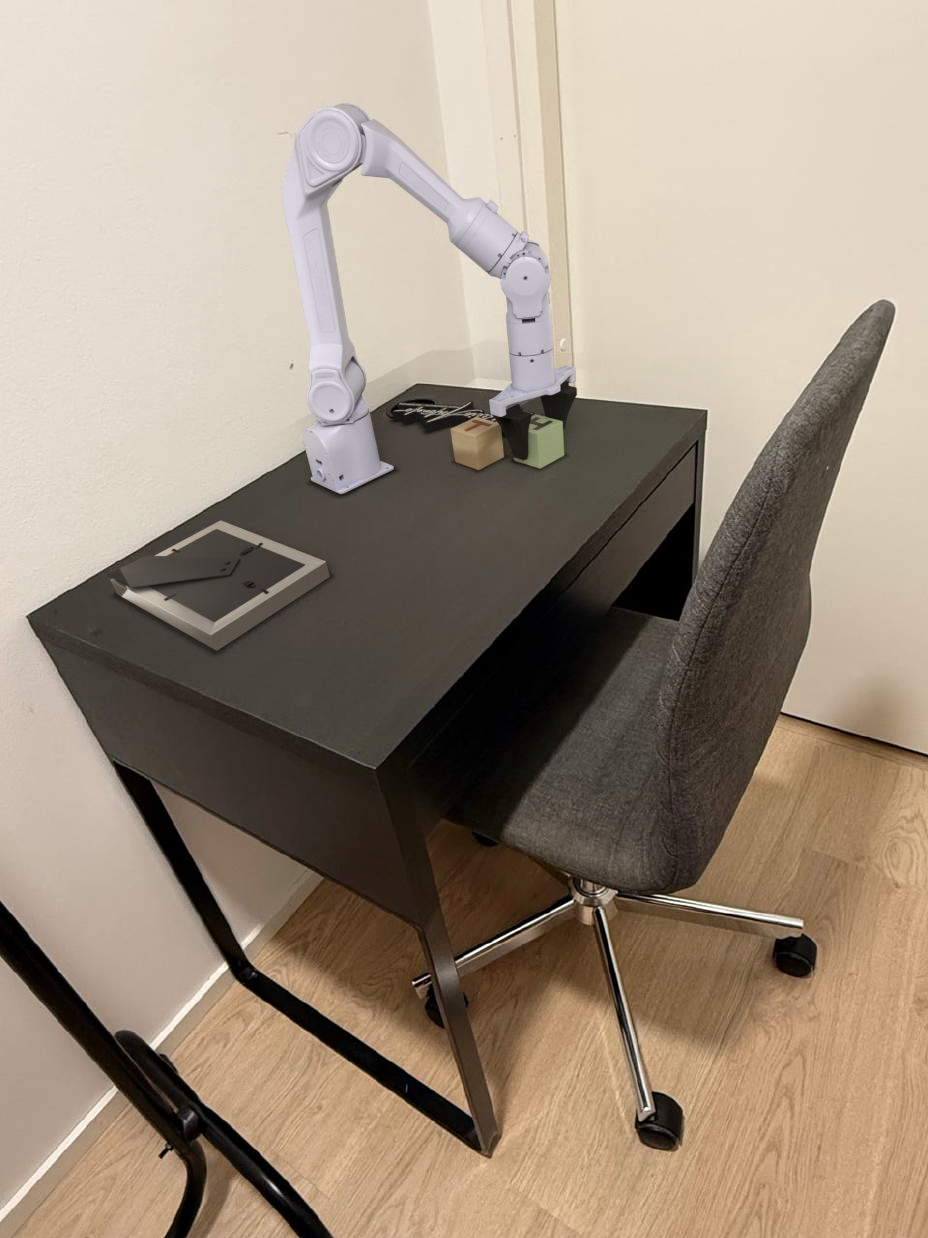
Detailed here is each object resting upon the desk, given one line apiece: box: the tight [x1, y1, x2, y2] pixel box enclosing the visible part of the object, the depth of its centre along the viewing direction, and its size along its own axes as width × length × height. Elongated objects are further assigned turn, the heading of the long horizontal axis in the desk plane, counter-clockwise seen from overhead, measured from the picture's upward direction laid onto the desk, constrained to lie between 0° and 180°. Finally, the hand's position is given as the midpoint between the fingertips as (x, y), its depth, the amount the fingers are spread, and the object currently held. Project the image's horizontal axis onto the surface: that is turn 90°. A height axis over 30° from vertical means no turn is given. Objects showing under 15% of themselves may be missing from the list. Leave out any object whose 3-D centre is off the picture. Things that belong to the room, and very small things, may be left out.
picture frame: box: [107, 520, 331, 652], centre depth 86 cm, size 16×3×21 cm
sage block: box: [513, 413, 565, 469], centre depth 103 cm, size 5×5×5 cm
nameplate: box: [391, 400, 545, 437], centre depth 118 cm, size 28×2×10 cm
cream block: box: [450, 417, 505, 471], centre depth 105 cm, size 5×5×5 cm
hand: (538, 448), depth 103 cm, fingers open, 6 cm apart
